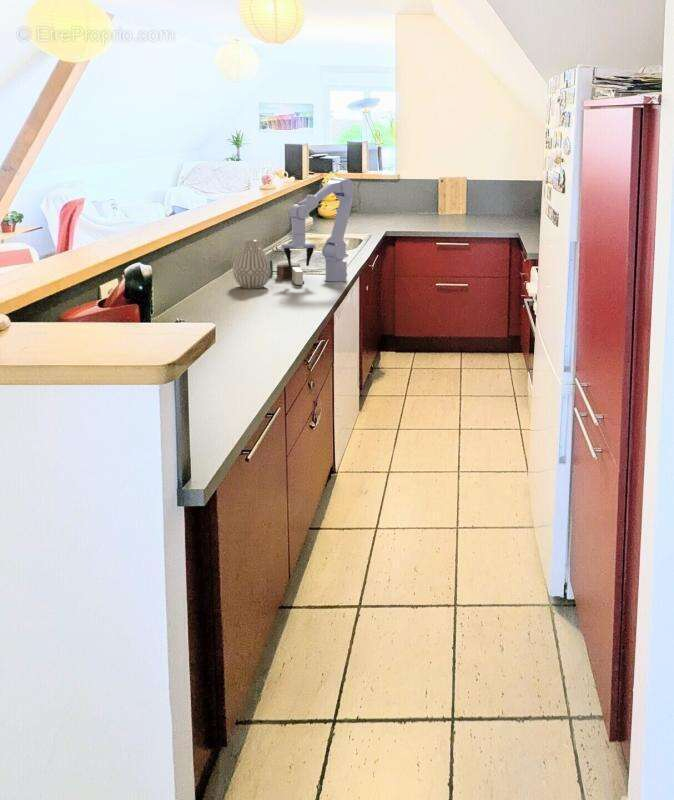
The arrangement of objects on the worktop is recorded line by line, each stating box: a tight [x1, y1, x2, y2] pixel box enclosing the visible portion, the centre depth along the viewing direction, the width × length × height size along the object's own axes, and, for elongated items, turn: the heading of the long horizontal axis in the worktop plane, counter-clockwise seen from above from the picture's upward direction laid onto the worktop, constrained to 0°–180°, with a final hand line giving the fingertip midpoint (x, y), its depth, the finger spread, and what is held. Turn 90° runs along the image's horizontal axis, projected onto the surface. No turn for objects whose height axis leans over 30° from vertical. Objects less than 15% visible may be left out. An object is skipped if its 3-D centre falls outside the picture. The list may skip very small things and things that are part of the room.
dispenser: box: [276, 261, 301, 281], centre depth 437 cm, size 10×8×7 cm
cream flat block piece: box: [291, 267, 304, 286], centre depth 425 cm, size 3×12×6 cm, turn 10°
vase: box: [232, 238, 271, 290], centre depth 413 cm, size 16×16×20 cm
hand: (298, 265), depth 421 cm, fingers open, 7 cm apart
